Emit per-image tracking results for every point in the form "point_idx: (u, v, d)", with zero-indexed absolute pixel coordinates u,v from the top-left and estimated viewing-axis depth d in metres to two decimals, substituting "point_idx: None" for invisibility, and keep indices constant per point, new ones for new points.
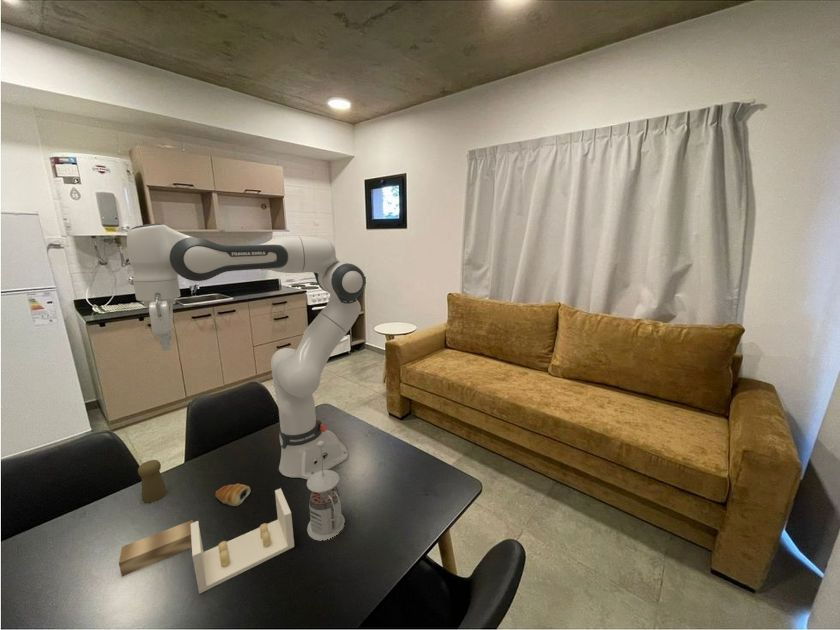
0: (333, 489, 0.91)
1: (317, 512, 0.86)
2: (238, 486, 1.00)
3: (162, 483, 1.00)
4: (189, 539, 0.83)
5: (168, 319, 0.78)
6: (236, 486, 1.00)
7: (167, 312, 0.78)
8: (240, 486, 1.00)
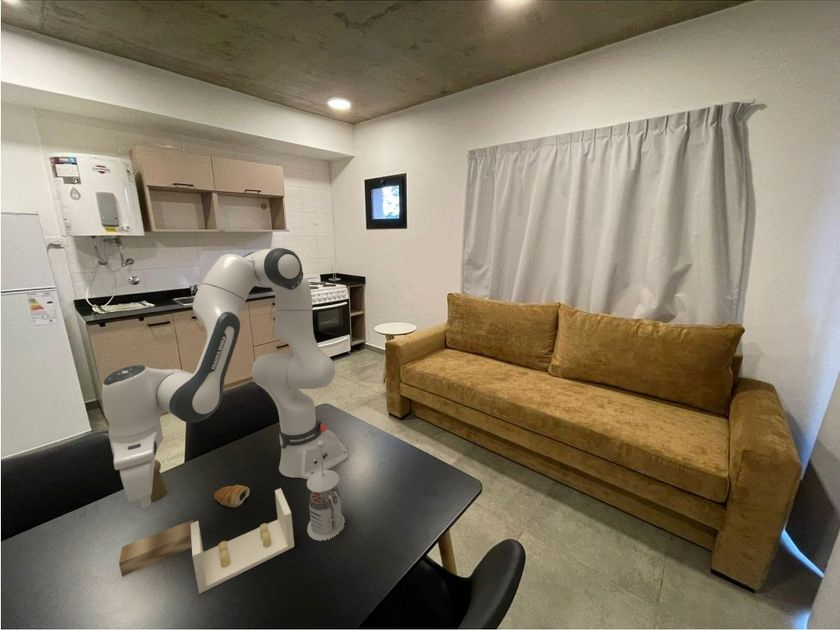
0: (333, 489, 0.91)
1: (317, 512, 0.86)
2: (237, 487, 1.00)
3: (162, 483, 1.00)
4: (189, 539, 0.83)
5: None
6: (235, 487, 0.99)
7: None
8: (239, 487, 1.00)
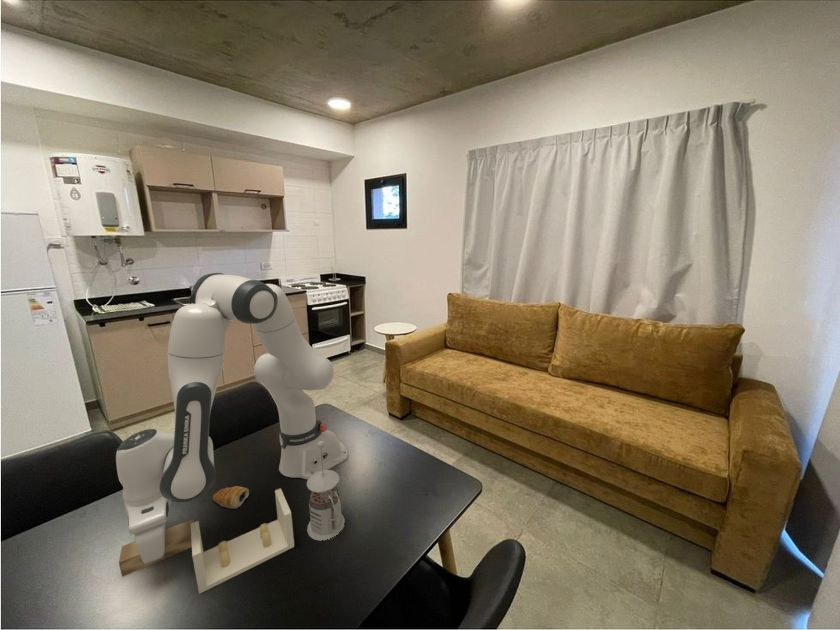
0: (333, 489, 0.91)
1: (317, 512, 0.86)
2: (236, 489, 0.99)
3: None
4: (189, 538, 0.83)
5: None
6: (234, 489, 0.99)
7: None
8: (238, 488, 0.99)
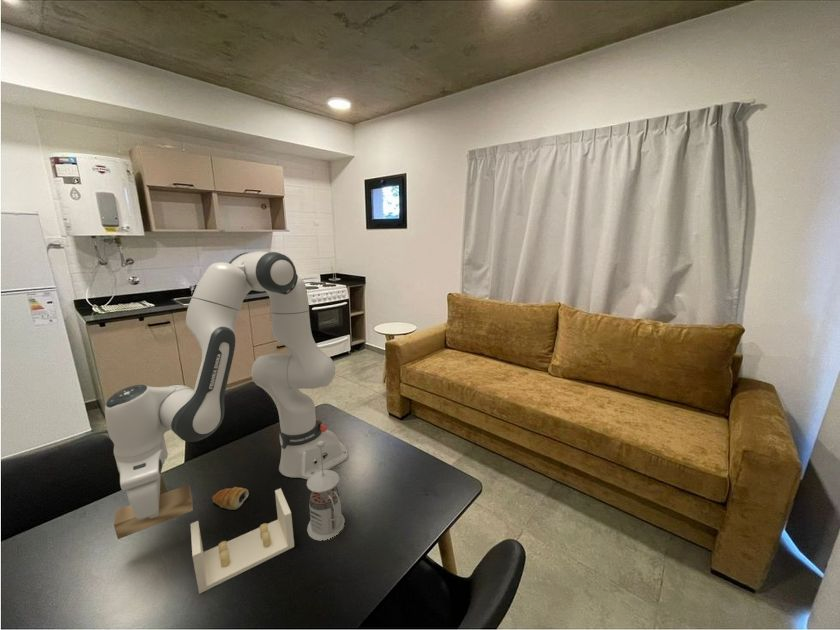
0: (333, 489, 0.91)
1: (317, 512, 0.86)
2: (236, 489, 0.99)
3: (162, 483, 1.00)
4: (186, 502, 0.82)
5: None
6: (234, 489, 0.99)
7: None
8: (238, 489, 0.99)
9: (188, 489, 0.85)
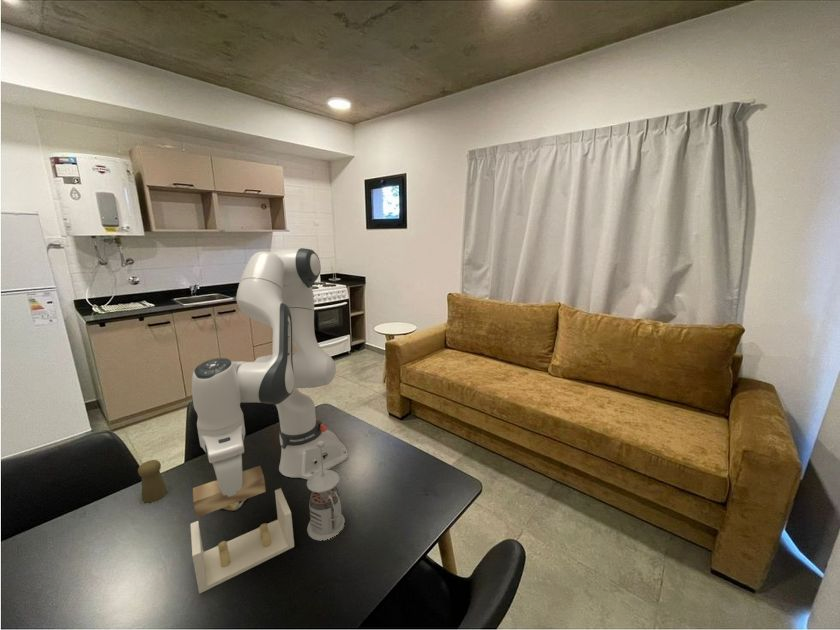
0: (333, 489, 0.91)
1: (317, 512, 0.86)
2: None
3: (162, 483, 1.00)
4: (260, 483, 0.80)
5: None
6: None
7: None
8: None
9: (260, 470, 0.83)
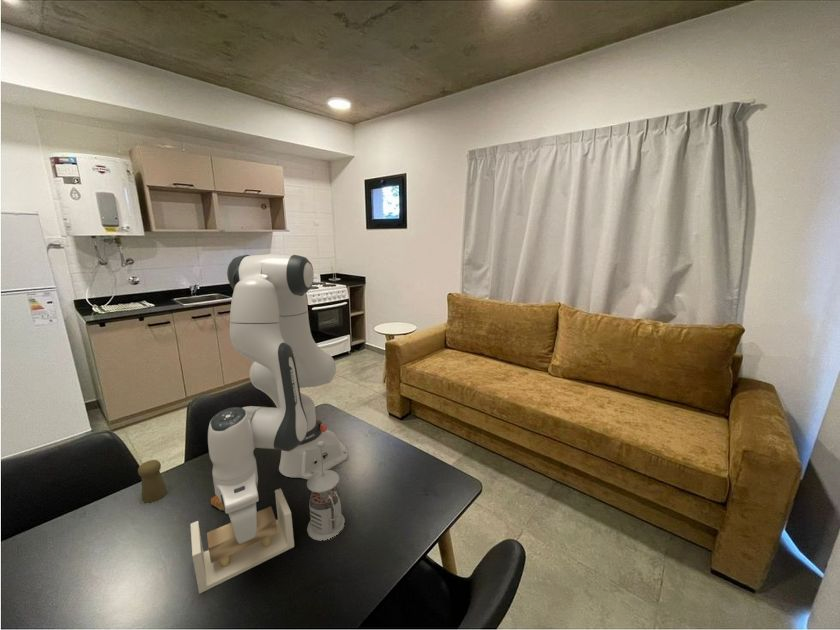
0: (333, 489, 0.91)
1: (317, 512, 0.86)
2: None
3: (162, 483, 1.00)
4: (272, 525, 0.82)
5: None
6: None
7: None
8: None
9: (271, 511, 0.85)
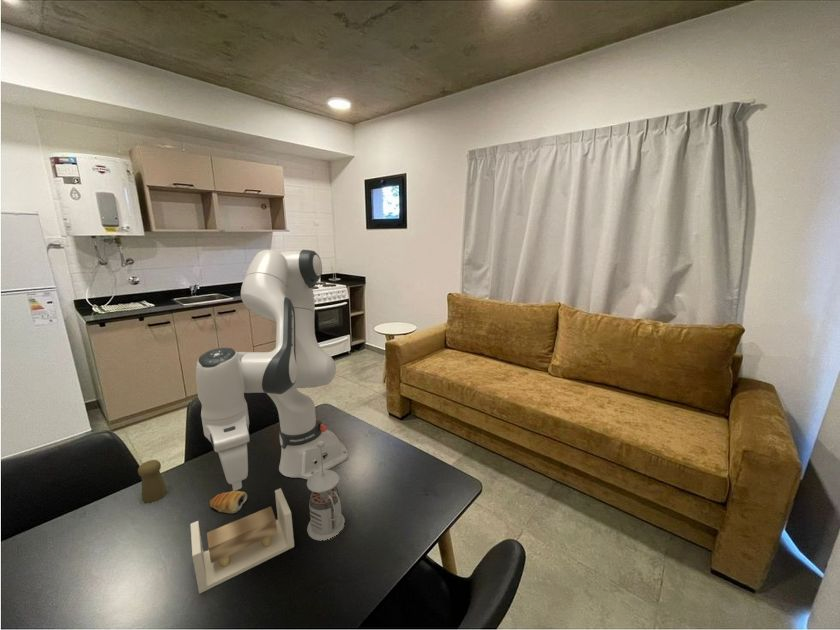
0: (333, 489, 0.91)
1: (317, 512, 0.86)
2: (234, 493, 0.97)
3: (162, 483, 1.00)
4: (272, 525, 0.82)
5: None
6: (232, 493, 0.97)
7: None
8: (236, 493, 0.98)
9: (271, 511, 0.85)
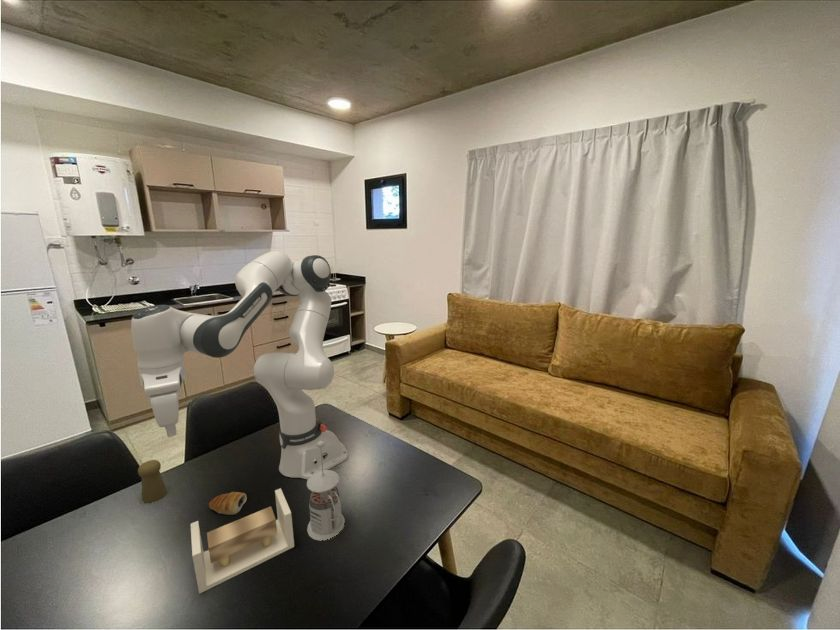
0: (333, 489, 0.91)
1: (317, 512, 0.86)
2: (234, 494, 0.97)
3: (162, 483, 1.00)
4: (272, 525, 0.82)
5: None
6: (232, 494, 0.97)
7: None
8: (236, 494, 0.97)
9: (271, 511, 0.85)
